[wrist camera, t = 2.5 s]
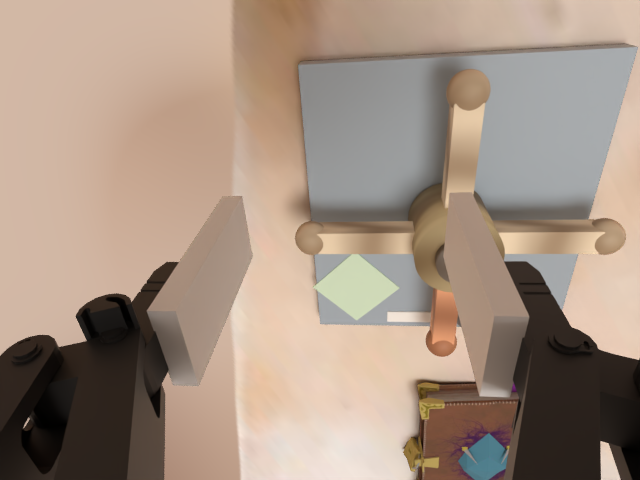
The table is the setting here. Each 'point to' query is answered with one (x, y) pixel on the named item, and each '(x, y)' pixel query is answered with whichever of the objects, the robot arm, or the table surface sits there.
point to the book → (461, 433)
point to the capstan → (431, 218)
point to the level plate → (429, 154)
